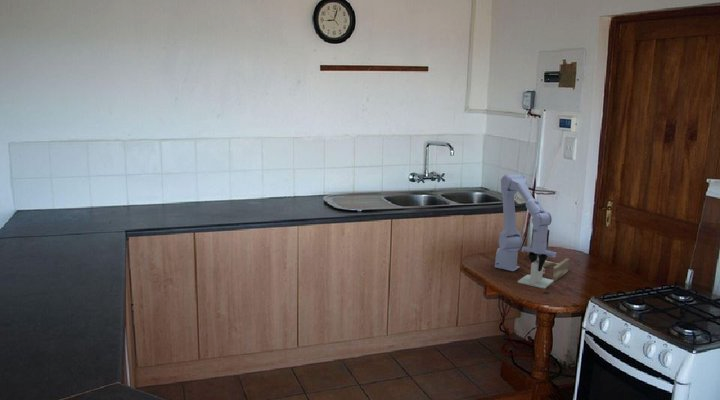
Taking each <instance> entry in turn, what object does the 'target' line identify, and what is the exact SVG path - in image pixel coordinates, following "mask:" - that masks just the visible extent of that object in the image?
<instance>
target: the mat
mask: <svg viewBox="0 0 720 400" xmlns="http://www.w3.org/2000/svg"><path fill="white" fill-rule="evenodd" d="M554 282H555V281H554V280H552V278H551V279H550V278H546V277H542V279H540V280H539V281H538V282H536V283H535V284H531V283H530V274H526V275H524V276H523V277H521V278H520V279H518V280H517V283H518V284H521V285H527V286H531V287H536V288H538V289H539V288H540V289H546V288H547V287H549V286H550V285H551V284H553V283H554Z"/></svg>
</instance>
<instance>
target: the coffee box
mask: <svg viewBox="0 0 720 400" xmlns="http://www.w3.org/2000/svg"><path fill="white" fill-rule="evenodd" d="M533 233H534V229H533V227H532V229H531V242H530V247H532V244H533ZM549 239H550V229H548V232H547V242H546V250H548V249H549V241H550V240H549ZM539 256H540V254H538V255H537V259H539ZM545 261H548V260H547V259H546V260H545Z"/></svg>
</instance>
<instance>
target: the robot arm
mask: <svg viewBox="0 0 720 400" xmlns="http://www.w3.org/2000/svg"><path fill="white" fill-rule="evenodd" d="M500 191H501V195H502V196H501V197H502V208H503V209H502V210H503V228H504V229H502V231H501V232H499V237H498V238H499V239H498V245H499V247H498V248H497V249H496V253H495V259H494V260H495V262H494V264H495V265H494V266H493V267H494V268H497V269H501V270H505V271H509V272H515V271H516V270H518V269H520V268H521V267H520V266H519V265H518V254H519V251H520V249H521V252H527V253H528V258H529V260H530V263H533V262H534V261H536V260H537V255H538V254H540V256H539V268H538V271H541V270H542V267H544V266H543V264H544V262H545V260H546V259H547V258H549V257H550V258H554V259H555V258H556V257H557V252H555V251H551V250H550V249H549V250H546V242H547V232H548V230H549V226H550V225H551V224H552V221H553V219H552V215H551V213H550V212H548V211H546V210H545V209H544V208H543V206H542V205H541V203H540V200H538V199H537V198H534V197H533V195H532V193H531V191H530V189H529V187H528V180H527V177H526V176H525V175H524V174H523V173H519V174H504V175H503V176H502V177H501V179H500ZM517 192H518V193H519V194H520V196H521V197H522V199H523V200H524V201H525V202H526V203H525V208H526V209H527V211H528V213H529V214H530V216H531V217H532V218H531V223H532V228H533V229H534V233H533V244H532V247H531V246H524V245H523V243H524V242H523V237H522V233H521V231H519V230H518V229H517V221H516V218H517V217H516V208H515V206H516V205H515V203H516V202H515V195H516V193H517Z"/></svg>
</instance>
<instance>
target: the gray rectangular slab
mask: <svg viewBox="0 0 720 400" xmlns="http://www.w3.org/2000/svg"><path fill="white" fill-rule="evenodd" d="M530 263H531V262H530ZM543 267H544V266H543ZM543 267H542V270H541V271H538V268H539V259H537V260H536V261H534V262H533V263H531V265H530V274H529V275H530V283H531V284H535V283H536V282H538V281H539V280H540V279H542V278H543V275H544V274H543Z"/></svg>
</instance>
